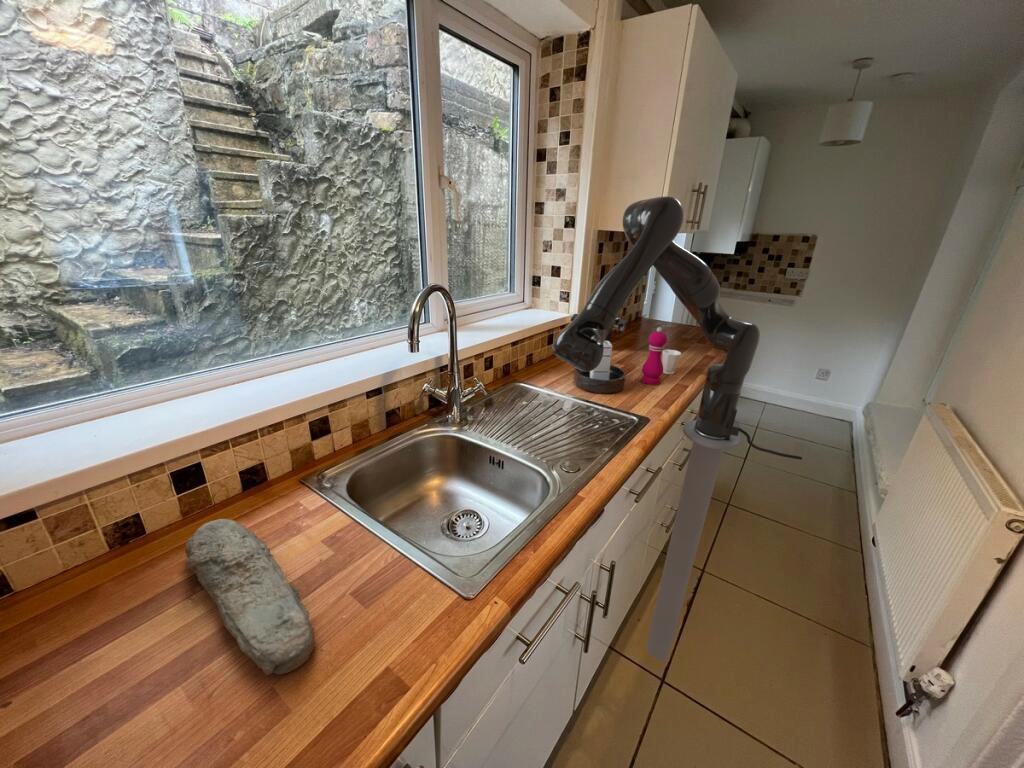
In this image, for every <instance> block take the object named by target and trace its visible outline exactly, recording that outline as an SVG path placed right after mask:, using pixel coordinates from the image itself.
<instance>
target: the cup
mask: <svg viewBox="0 0 1024 768" xmlns="http://www.w3.org/2000/svg"><path fill="white" fill-rule="evenodd" d="M681 356H682V352H681V351H678V350H676V349H664V350H663V351H662V357H661V361H662V365H663V374H666V375H674V374H675V371H676V369H677V367H678V365H679V362H680V359H681Z"/></svg>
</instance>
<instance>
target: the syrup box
mask: <svg viewBox="0 0 1024 768" xmlns="http://www.w3.org/2000/svg"><path fill="white" fill-rule="evenodd" d="M603 346H604V352H603V357H602V360H601V362H600V364H599V365H598V366H597V367H596V368H595V369H594V370H592V371H590V378H593V379H598V380H609V373H610V365H612V364H611V362H612V353H613V344H612V345H611V343H610V342H609V341H606V340H604V342H603Z"/></svg>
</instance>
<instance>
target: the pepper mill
mask: <svg viewBox="0 0 1024 768" xmlns="http://www.w3.org/2000/svg"><path fill="white" fill-rule="evenodd" d="M648 342H649V345H648V350H649V354H648V357H647V358H646V359H645V362H644V363H643V365H642V368H641V372H642V374H643V375H641V382H642V383H644V384H646V385H649V386H650V385H651V386H656V385H659V384H660V383H661V376H662V375H663V374H664V373H663V364H662V355H663V350H665V345H666V344H667V342H668V336H667V334H666V333H665V332H663V328H662V327H660V326H659V327H657V328H656V331H653V332H651V333H650V334H649V336H648Z"/></svg>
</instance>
